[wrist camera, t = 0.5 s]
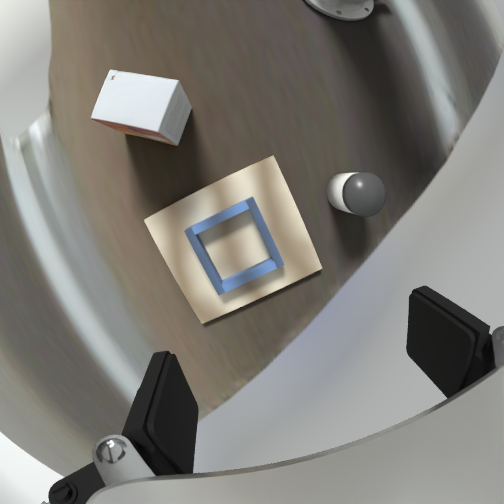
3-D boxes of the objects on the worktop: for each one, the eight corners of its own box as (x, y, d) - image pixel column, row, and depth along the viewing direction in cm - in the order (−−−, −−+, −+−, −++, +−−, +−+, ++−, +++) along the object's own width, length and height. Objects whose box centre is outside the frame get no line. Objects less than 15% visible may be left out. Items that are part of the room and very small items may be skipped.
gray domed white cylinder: (352, 167, 35) (376, 166, 28) (365, 201, 36) (390, 206, 30) (320, 181, 35) (340, 182, 29) (334, 216, 37) (356, 224, 30)
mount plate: (272, 156, 34) (275, 154, 31) (320, 266, 38) (326, 273, 35) (146, 218, 35) (138, 222, 32) (202, 320, 39) (200, 331, 36)
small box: (124, 133, 32) (87, 119, 22) (138, 95, 31) (108, 68, 20) (178, 147, 33) (158, 134, 23) (193, 107, 32) (179, 79, 22)
